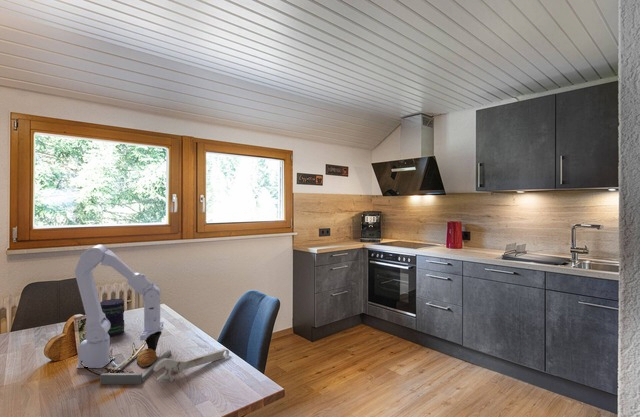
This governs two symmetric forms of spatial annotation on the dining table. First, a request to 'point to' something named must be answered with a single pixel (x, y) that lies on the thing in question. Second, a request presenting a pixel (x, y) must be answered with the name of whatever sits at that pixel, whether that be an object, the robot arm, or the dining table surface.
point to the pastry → (146, 357)
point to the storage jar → (114, 315)
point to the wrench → (185, 364)
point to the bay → (129, 374)
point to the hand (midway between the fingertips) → (152, 351)
